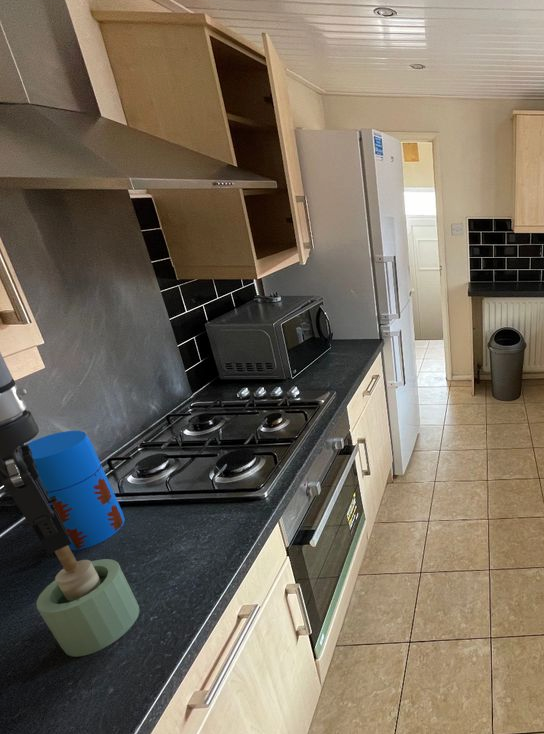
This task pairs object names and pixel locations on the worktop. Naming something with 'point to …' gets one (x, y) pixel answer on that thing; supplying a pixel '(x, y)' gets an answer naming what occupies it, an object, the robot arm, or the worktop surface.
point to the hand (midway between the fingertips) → (58, 543)
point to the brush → (75, 575)
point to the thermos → (77, 487)
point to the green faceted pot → (90, 612)
